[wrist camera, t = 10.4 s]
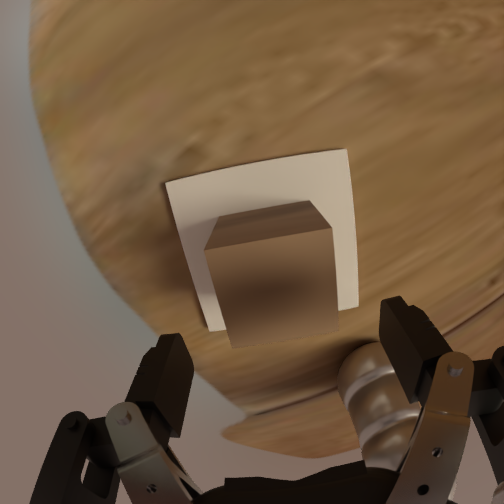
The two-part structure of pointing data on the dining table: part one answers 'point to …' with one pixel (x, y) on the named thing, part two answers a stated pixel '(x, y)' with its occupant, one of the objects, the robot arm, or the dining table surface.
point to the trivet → (261, 196)
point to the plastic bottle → (377, 406)
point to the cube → (274, 274)
